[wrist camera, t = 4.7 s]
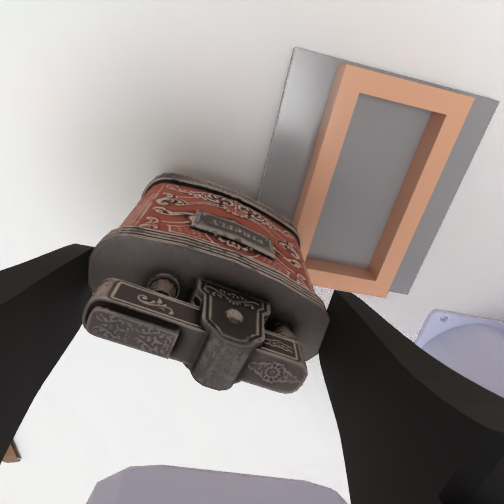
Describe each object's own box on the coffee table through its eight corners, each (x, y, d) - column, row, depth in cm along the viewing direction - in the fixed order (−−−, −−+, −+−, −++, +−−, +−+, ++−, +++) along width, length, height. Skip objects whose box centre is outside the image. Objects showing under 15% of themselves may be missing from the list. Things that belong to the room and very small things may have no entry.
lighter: (311, 222, 19) (378, 361, 10) (281, 276, 20) (315, 443, 11) (156, 157, 17) (61, 250, 8) (135, 220, 18) (33, 362, 9)
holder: (493, 100, 20) (519, 103, 18) (404, 290, 25) (417, 307, 23) (294, 47, 18) (300, 45, 16) (242, 260, 23) (243, 276, 21)
